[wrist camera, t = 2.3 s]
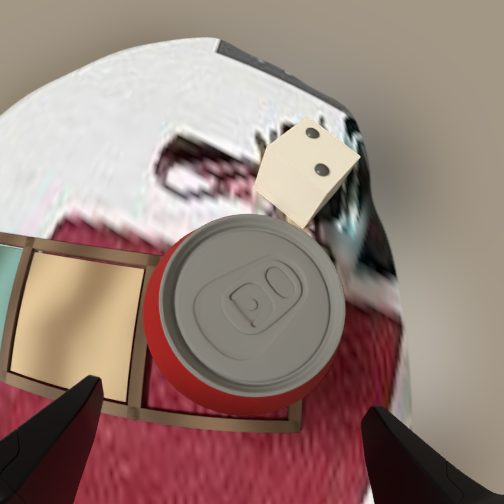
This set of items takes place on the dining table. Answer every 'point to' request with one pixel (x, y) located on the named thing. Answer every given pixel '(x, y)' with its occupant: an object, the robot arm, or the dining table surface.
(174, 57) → the dining table surface
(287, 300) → the beverage can
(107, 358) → the brown frame
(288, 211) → the die
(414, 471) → the robot arm
